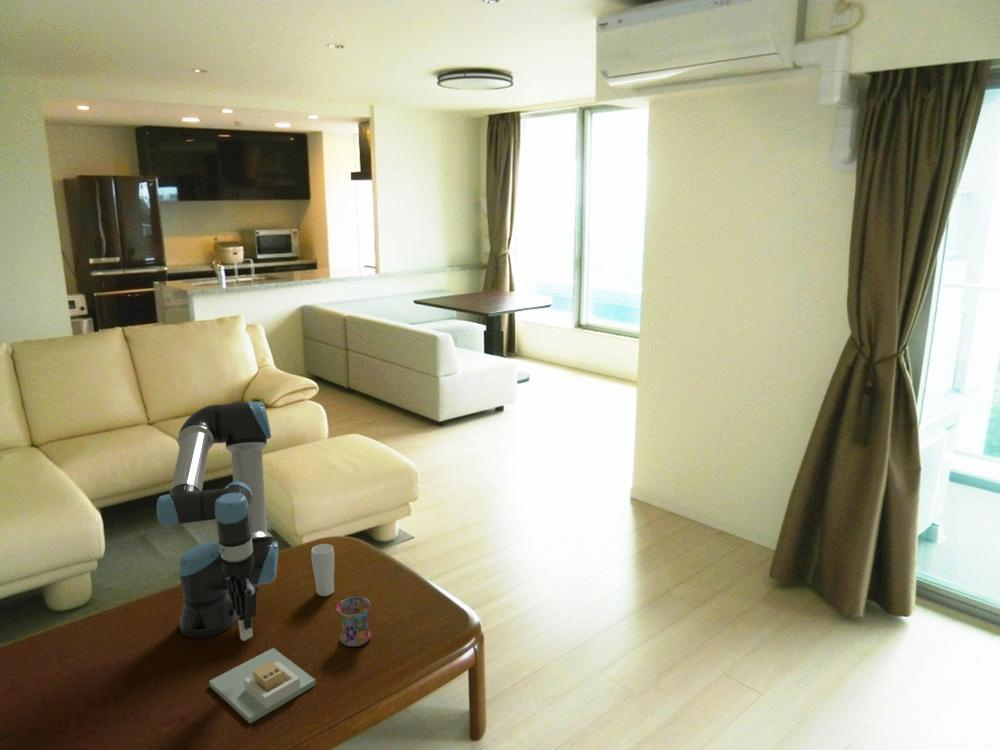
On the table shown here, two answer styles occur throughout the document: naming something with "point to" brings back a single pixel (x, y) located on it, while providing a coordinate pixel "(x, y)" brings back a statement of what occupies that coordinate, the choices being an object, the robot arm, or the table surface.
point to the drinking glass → (323, 568)
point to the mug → (354, 621)
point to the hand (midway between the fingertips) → (246, 637)
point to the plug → (268, 676)
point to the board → (253, 698)
